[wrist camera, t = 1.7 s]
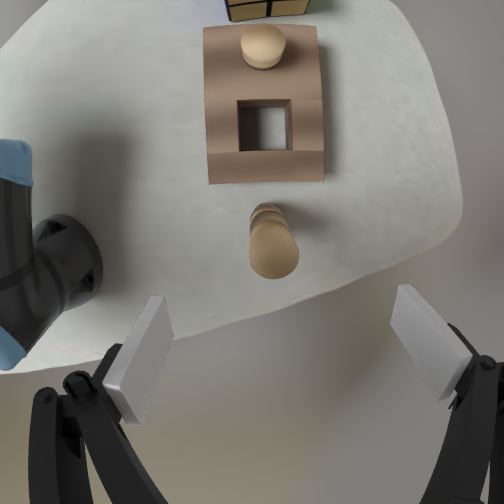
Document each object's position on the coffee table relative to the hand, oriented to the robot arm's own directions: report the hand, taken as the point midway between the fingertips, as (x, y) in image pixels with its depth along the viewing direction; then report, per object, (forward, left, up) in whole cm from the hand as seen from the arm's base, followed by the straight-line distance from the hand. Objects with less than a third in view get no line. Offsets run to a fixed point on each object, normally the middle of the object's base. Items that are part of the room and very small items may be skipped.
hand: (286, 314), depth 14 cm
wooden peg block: (+6, +13, -22) cm, 26 cm away
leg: (0, 0, -22) cm, 22 cm away
